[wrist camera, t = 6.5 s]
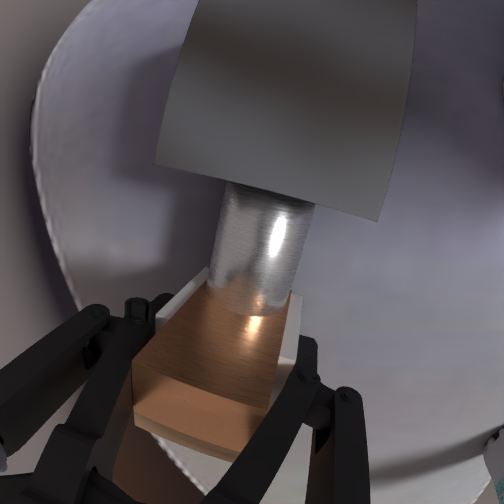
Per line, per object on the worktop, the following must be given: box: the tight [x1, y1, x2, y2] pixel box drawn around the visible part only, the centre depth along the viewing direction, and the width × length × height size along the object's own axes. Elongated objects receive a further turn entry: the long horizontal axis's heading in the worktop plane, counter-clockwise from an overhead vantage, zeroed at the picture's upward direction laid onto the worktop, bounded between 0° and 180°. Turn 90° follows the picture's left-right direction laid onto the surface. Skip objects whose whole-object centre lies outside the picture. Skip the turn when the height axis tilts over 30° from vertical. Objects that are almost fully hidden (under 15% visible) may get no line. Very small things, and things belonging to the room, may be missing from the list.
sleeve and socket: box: [133, 0, 417, 463], centre depth 14 cm, size 26×9×8 cm, turn 166°
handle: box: [132, 180, 316, 452], centre depth 13 cm, size 18×5×10 cm, turn 166°
